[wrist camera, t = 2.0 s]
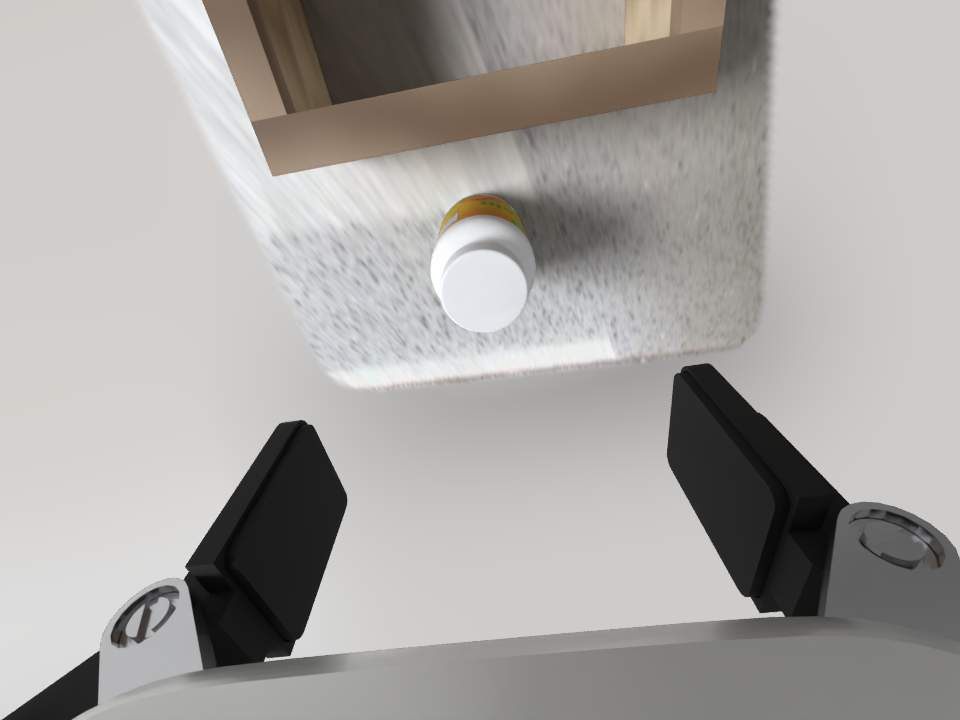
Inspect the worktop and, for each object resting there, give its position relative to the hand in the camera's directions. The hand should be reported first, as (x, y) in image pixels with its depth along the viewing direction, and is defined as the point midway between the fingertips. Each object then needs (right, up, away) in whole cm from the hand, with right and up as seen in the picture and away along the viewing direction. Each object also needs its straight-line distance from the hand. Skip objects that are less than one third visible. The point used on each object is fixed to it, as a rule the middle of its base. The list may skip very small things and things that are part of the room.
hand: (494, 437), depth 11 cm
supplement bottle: (0, +10, +16) cm, 19 cm away
